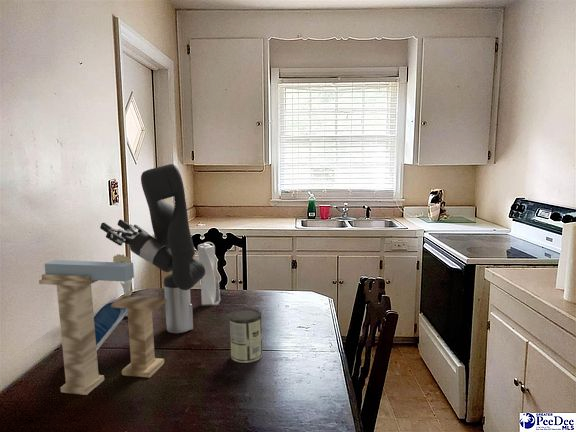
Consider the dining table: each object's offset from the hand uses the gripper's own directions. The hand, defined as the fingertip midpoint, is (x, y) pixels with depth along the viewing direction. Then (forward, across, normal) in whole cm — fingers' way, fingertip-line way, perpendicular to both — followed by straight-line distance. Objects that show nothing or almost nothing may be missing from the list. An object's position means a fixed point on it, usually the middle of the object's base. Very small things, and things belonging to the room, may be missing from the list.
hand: (110, 223), depth 144 cm
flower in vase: (-5, -28, +45) cm, 53 cm away
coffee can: (-60, -4, +16) cm, 63 cm away
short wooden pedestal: (-37, +12, +29) cm, 48 cm away
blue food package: (-16, +12, +37) cm, 42 cm away
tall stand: (-27, +25, +34) cm, 50 cm away
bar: (-16, +25, +4) cm, 30 cm away
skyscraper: (-30, -48, +31) cm, 64 cm away
